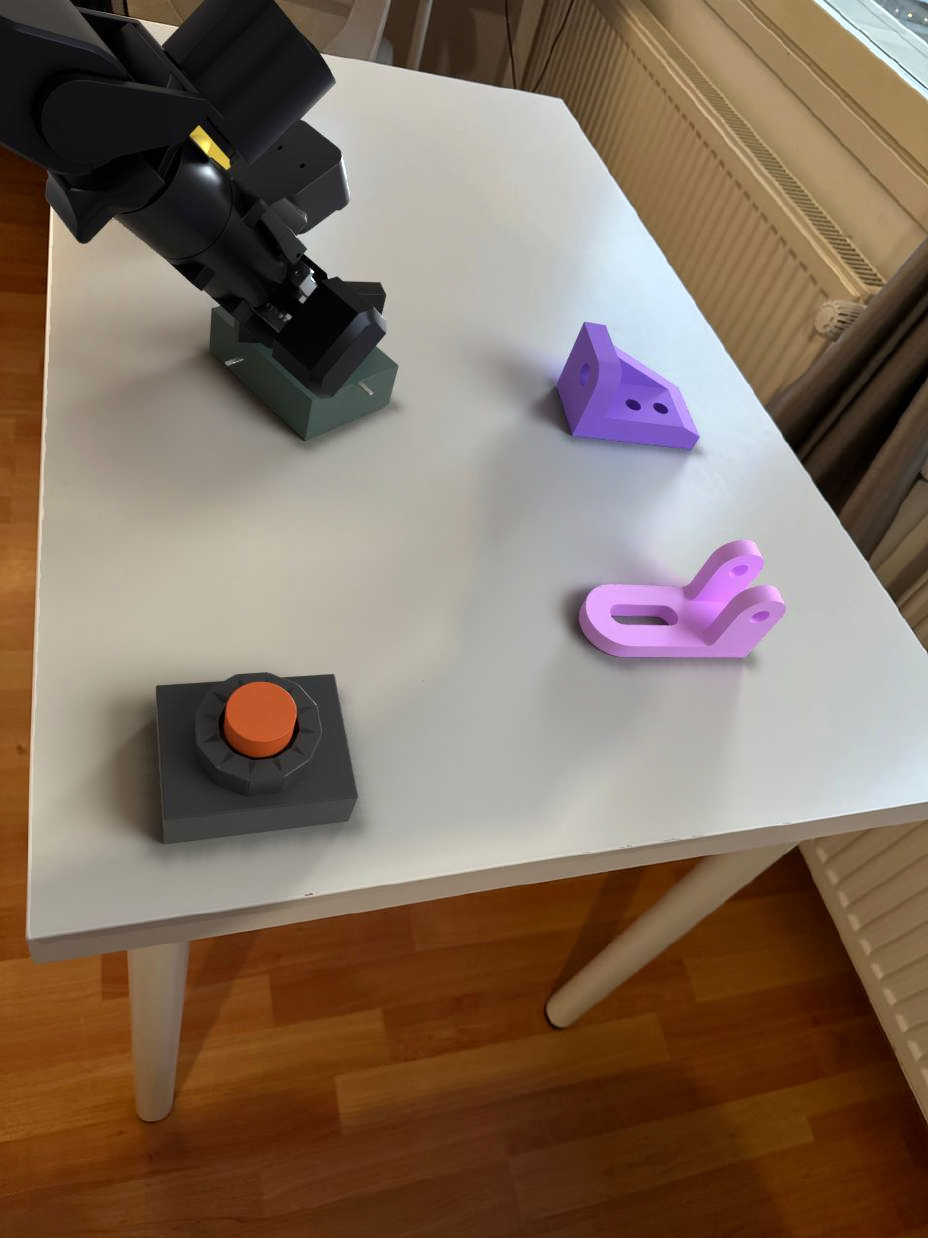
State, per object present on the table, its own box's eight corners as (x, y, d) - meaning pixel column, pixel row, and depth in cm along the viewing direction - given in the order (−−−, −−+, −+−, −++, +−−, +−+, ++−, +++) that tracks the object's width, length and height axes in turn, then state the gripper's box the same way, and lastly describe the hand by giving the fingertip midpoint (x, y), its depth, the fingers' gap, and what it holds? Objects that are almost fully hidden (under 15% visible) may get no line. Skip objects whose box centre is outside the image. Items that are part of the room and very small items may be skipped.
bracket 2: (720, 599, 69) (766, 541, 64) (745, 657, 66) (796, 601, 61) (570, 594, 65) (607, 532, 60) (589, 656, 62) (630, 596, 57)
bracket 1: (572, 435, 77) (602, 372, 72) (556, 384, 81) (584, 321, 75) (692, 449, 80) (729, 390, 75) (671, 399, 84) (705, 340, 79)
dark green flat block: (428, 404, 74) (440, 364, 71) (286, 468, 65) (293, 426, 62) (311, 302, 78) (317, 260, 75) (163, 349, 69) (163, 304, 66)
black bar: (370, 330, 71) (381, 278, 68) (375, 343, 70) (387, 291, 67) (233, 329, 67) (237, 273, 63) (237, 342, 66) (242, 287, 62)
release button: (227, 761, 45) (229, 744, 44) (220, 701, 47) (222, 683, 46) (297, 754, 46) (301, 738, 45) (288, 696, 48) (291, 679, 47)
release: (163, 845, 46) (164, 804, 42) (155, 714, 51) (155, 666, 47) (349, 821, 50) (364, 782, 46) (326, 701, 54) (339, 656, 50)
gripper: (398, 181, 44) (478, 314, 59) (174, 6, 49) (300, 169, 64) (258, 352, 46) (372, 439, 61) (54, 164, 51) (205, 288, 66)
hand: (312, 327), depth 63 cm, fingers closed
